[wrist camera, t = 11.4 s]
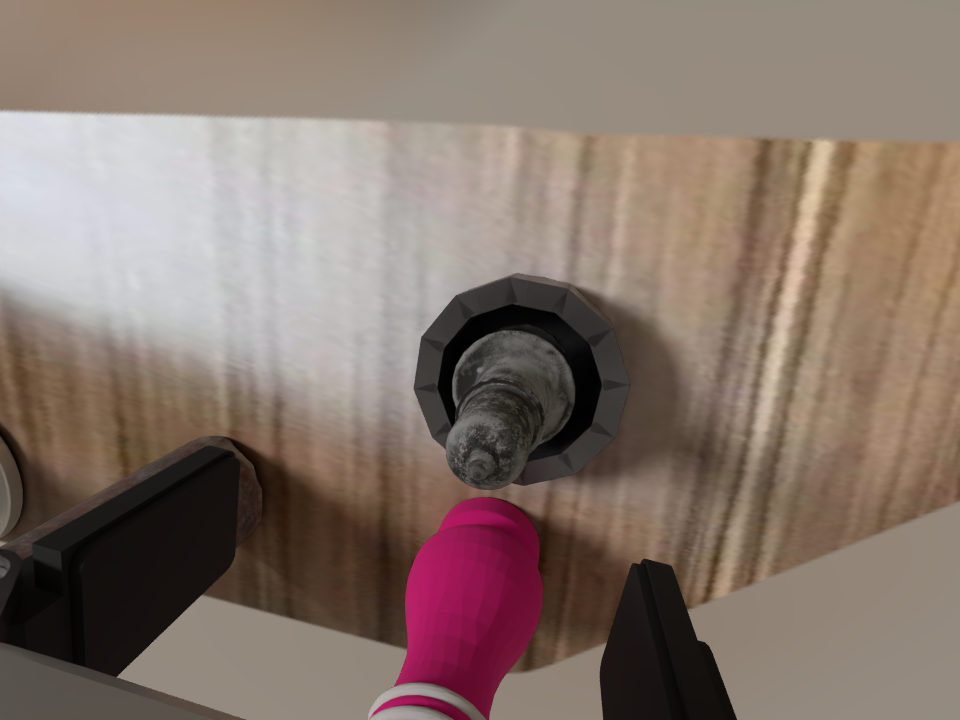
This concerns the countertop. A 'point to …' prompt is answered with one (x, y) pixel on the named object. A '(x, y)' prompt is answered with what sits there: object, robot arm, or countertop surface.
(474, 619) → the pepper mill
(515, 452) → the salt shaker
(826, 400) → the countertop surface
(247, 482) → the candle
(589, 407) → the dark gray faceted bowl
